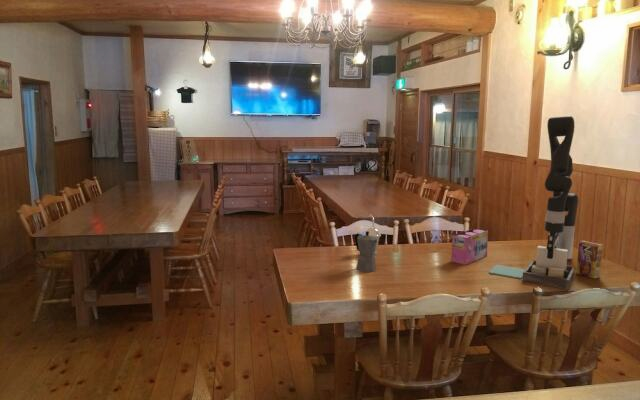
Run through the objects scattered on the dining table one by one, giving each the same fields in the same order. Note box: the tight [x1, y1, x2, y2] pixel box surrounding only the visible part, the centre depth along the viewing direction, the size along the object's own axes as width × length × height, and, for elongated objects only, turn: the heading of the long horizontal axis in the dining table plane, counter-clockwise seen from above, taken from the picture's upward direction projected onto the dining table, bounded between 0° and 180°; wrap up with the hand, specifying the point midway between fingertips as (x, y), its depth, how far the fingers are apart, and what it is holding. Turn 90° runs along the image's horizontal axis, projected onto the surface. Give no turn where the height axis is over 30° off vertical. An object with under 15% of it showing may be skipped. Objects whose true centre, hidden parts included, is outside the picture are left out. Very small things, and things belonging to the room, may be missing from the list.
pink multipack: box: [450, 227, 489, 266], centre depth 245 cm, size 24×8×14 cm, turn 134°
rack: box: [521, 259, 575, 290], centre depth 214 cm, size 19×18×5 cm
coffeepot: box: [354, 230, 377, 273], centre depth 226 cm, size 15×9×18 cm, turn 33°
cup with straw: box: [364, 213, 382, 256], centre depth 251 cm, size 8×9×20 cm
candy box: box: [575, 240, 604, 279], centre depth 219 cm, size 9×4×15 cm, turn 29°
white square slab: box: [535, 245, 568, 270], centre depth 217 cm, size 4×12×13 cm, turn 57°
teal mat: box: [488, 264, 526, 280], centre depth 224 cm, size 14×14×1 cm
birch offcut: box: [548, 266, 565, 278], centre depth 209 cm, size 4×6×7 cm
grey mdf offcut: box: [531, 265, 547, 275], centre depth 212 cm, size 4×6×6 cm
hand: (551, 256), depth 217 cm, fingers open, 8 cm apart
